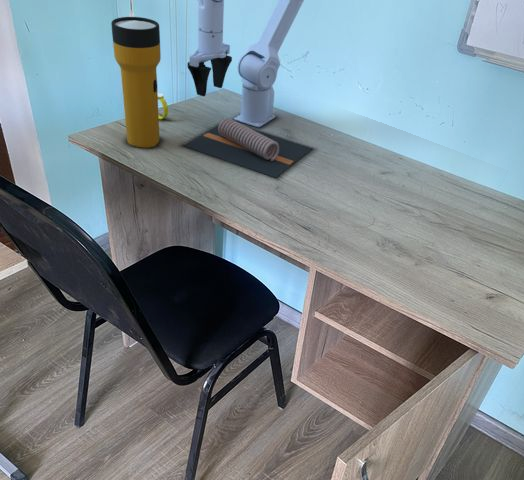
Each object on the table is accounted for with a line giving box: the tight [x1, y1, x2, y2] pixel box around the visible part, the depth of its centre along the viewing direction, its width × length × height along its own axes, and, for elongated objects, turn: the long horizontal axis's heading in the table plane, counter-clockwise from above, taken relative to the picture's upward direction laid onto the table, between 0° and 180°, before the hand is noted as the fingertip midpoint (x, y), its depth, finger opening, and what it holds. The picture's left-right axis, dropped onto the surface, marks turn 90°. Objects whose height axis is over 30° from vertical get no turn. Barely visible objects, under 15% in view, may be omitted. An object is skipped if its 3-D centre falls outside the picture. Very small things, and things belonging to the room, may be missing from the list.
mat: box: [182, 124, 314, 179], centre depth 134 cm, size 20×26×1 cm
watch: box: [158, 92, 169, 121], centre depth 140 cm, size 6×3×6 cm, turn 52°
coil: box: [218, 117, 279, 161], centre depth 131 cm, size 5×5×18 cm
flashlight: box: [111, 16, 162, 149], centre depth 122 cm, size 10×26×10 cm
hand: (209, 91), depth 133 cm, fingers open, 7 cm apart
